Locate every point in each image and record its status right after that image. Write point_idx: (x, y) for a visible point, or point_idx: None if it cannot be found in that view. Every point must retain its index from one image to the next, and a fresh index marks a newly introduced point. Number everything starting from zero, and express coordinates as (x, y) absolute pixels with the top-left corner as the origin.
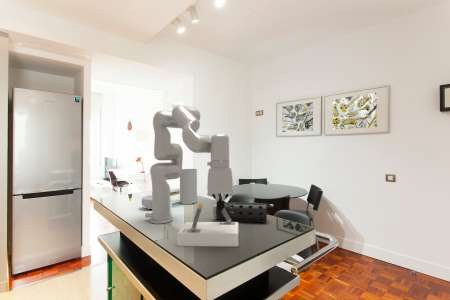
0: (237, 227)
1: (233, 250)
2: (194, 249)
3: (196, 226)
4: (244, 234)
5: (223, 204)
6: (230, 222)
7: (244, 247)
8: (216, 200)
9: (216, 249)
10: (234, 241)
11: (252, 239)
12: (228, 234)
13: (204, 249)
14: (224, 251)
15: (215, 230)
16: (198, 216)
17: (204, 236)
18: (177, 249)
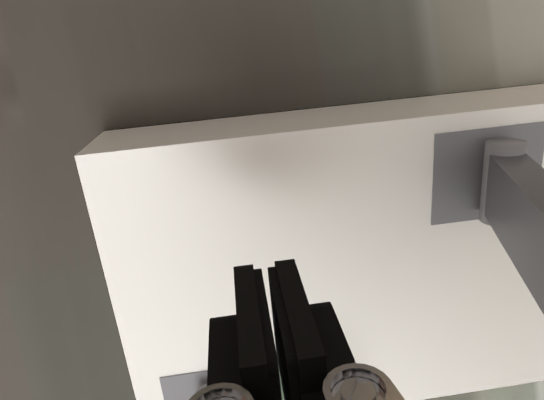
0: (121, 316)
1: (124, 50)
2: (417, 33)
3: (482, 222)
4: (110, 362)
5: (219, 354)
6: (198, 390)
7: (52, 120)
8: (371, 373)
9: (256, 53)
10: (125, 136)
11: (29, 281)
12: (167, 142)
13: (345, 42)
14: (188, 21)
15: (301, 212)
16: (531, 197)
17: (377, 117)
18: (537, 18)
